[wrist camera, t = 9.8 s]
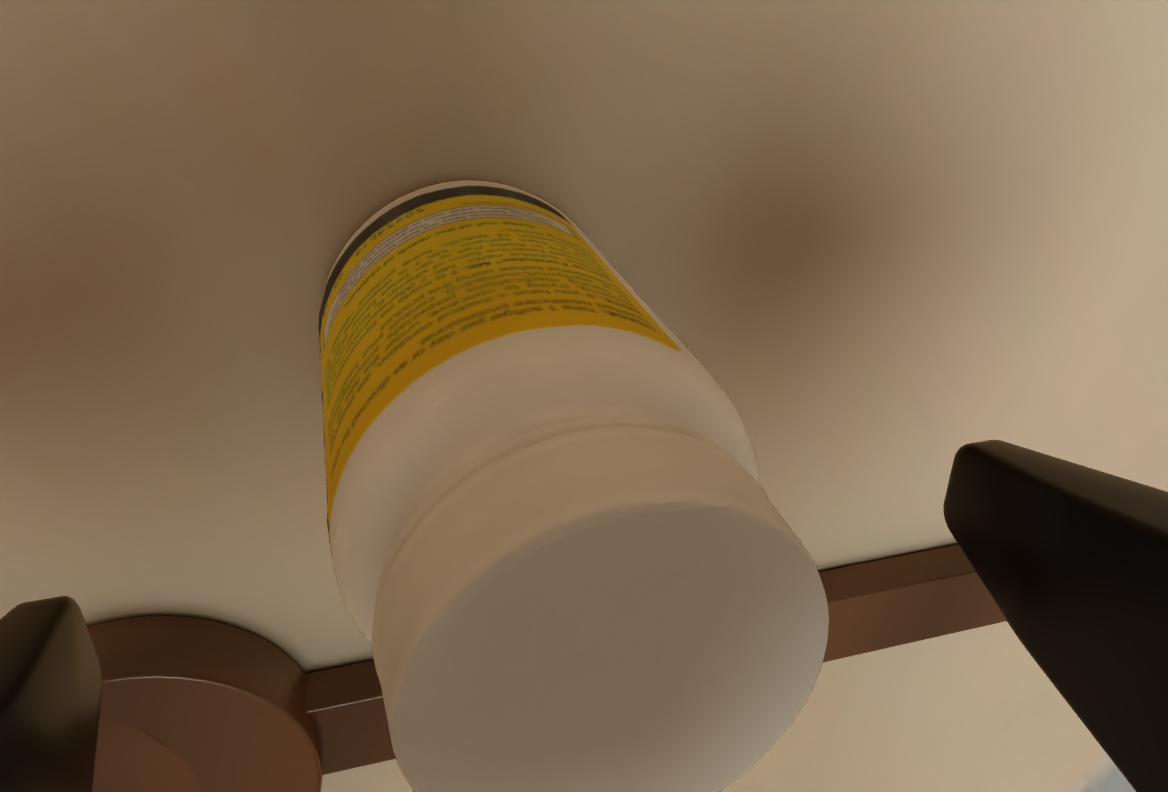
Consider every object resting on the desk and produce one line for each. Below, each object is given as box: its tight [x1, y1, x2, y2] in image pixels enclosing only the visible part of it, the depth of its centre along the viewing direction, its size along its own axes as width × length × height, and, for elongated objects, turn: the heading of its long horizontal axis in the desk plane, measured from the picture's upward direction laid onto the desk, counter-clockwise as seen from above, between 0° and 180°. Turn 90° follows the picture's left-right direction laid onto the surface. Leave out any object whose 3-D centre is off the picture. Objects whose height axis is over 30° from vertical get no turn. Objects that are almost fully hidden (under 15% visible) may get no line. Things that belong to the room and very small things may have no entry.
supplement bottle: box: [319, 180, 829, 792], centre depth 11 cm, size 5×5×8 cm
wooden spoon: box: [87, 544, 1007, 792], centre depth 18 cm, size 24×6×2 cm, turn 90°
